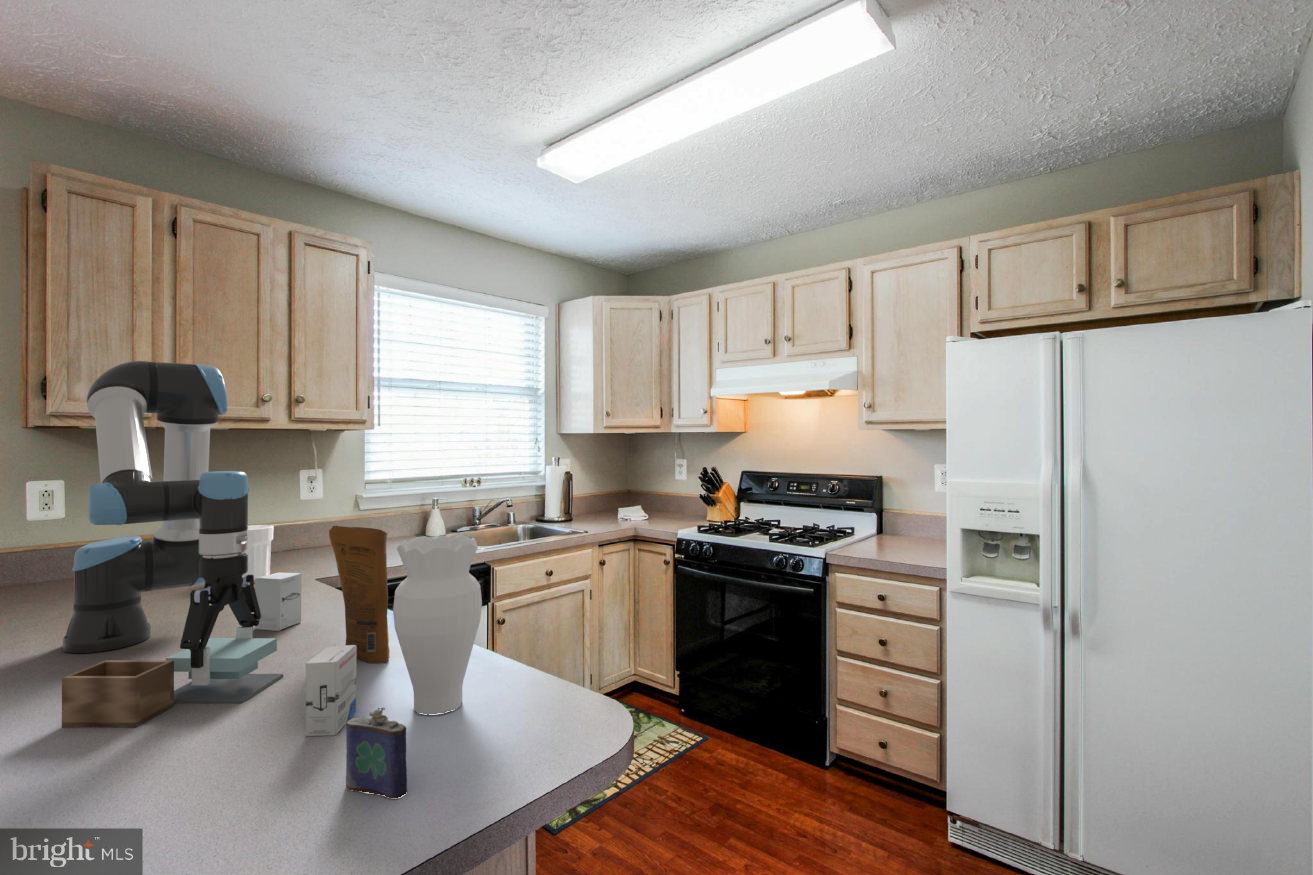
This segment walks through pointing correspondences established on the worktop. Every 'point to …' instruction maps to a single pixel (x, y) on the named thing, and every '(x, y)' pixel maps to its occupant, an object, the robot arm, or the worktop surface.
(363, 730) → the flask
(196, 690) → the mat
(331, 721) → the ink box
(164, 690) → the crate
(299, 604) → the supplement box
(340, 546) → the pancake mix bag
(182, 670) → the lid
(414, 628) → the vase
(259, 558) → the cup
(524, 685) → the worktop surface
